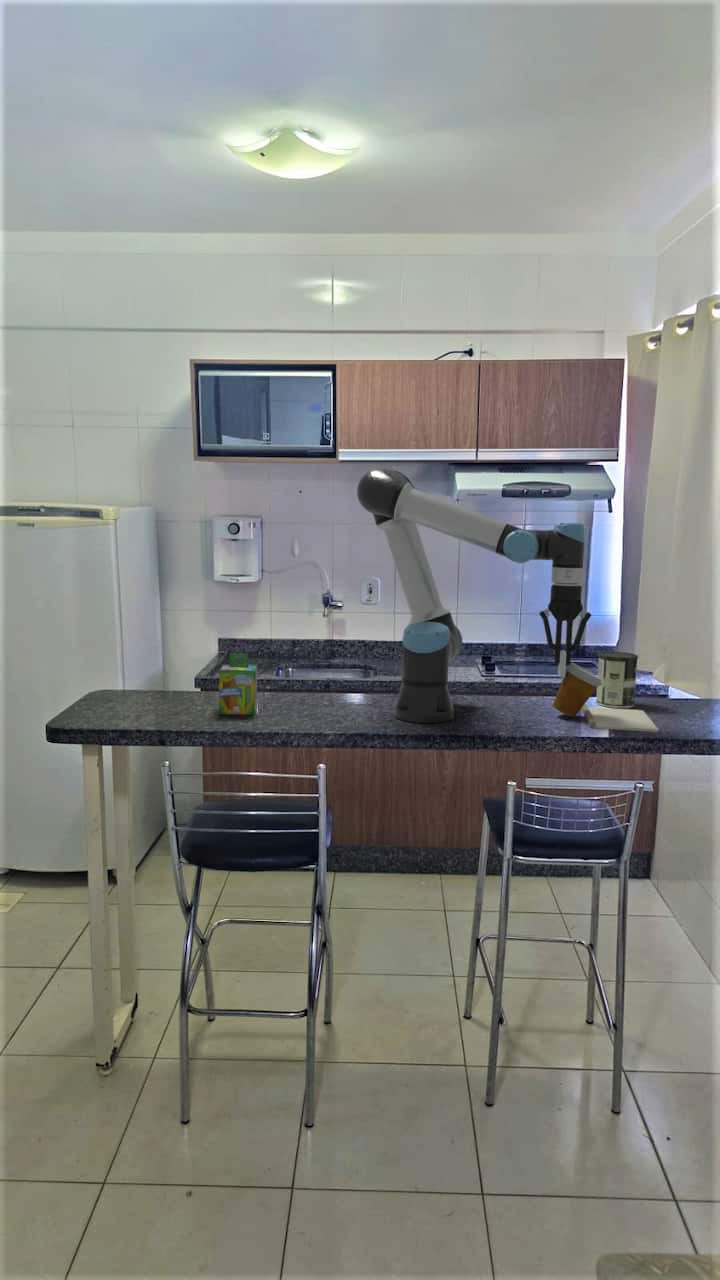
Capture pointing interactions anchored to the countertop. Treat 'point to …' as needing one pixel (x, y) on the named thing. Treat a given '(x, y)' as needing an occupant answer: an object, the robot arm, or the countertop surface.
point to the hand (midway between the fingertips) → (561, 676)
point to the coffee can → (617, 679)
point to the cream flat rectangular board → (618, 719)
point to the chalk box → (238, 687)
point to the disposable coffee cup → (575, 690)
